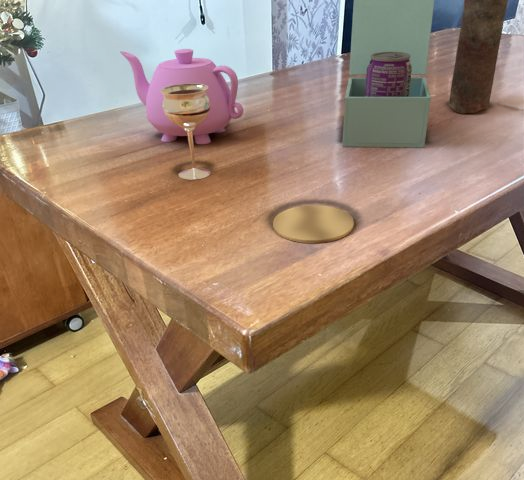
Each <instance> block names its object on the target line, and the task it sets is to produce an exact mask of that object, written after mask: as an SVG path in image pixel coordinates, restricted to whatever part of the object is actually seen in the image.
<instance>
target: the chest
mask: <svg viewBox="0 0 524 480" xmlns="http://www.w3.org/2000/svg"><path fill="white" fill-rule="evenodd" d="M365 87H366V76H364V77H362V76H361V77H348V82H347V87H346V91H345V96H344V106H343V107H344V109H343V110H344V111H343V128H342V129H343V130H342V147H353V148H355V147H357V148H414V149H415V148H419V149H420V148H423V149H424V148H425V144H426V139H427V138H426V136H427V130H428V124H429V123H428V122H429V115H430V109H431V108H430V107H431V101H432V95H431V92H430V89H429V84H428V81H427V78H426V76H411V81H410V90H409V97H365Z"/></svg>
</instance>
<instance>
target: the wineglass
mask: <svg viewBox="0 0 524 480" xmlns="http://www.w3.org/2000/svg"><path fill="white" fill-rule="evenodd" d="M207 89H208V86H207V85H204V84H197V83H186V84H176V85H171V86H167V87H164V88H163V89H161V93H162V94H163V96H164V100H163V110H164V113H165V115H166V117H167V118H168V119H169V120H170V121H171V122H173V123H174V124H175V125H177V126H179V127H182V128H184V130H185V131H187V135H188V136H187V141H188V146H189V153H190V158H191V166H192V167H190V168H187V169H184V170H182V171H180V172H179V173H178V177H179V178H181V179H183V180H188V181H189V180H190V181H191V180H192V181H193V180H200V179H204V178H207V177H209V176H210V175H211V174H212V171H211V170H210V169H208V168H204V167H196V159H195V146H194V136H193V132H192V131H194V129H195V127H196V126H198V125H199V124H201V123H202V122H203V121H204V120H205V118H206V117H207V116H208V114H209V111H210V100H209V97H208V96H207V94H206V92H207Z"/></svg>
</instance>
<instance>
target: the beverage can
mask: <svg viewBox="0 0 524 480" xmlns="http://www.w3.org/2000/svg"><path fill="white" fill-rule="evenodd" d="M409 59H410V54H408V53H403V52H380V53H375V54H372V55H371V61H370V63H369V65H368V67H367V73H366V75H365V77H366V87H365V97H409V90H410V81H411V77H412V75H411V73H412V66H411V63H410V60H409Z"/></svg>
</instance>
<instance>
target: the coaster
mask: <svg viewBox="0 0 524 480" xmlns="http://www.w3.org/2000/svg"><path fill="white" fill-rule="evenodd" d="M354 227H355V221H354V218H353V216H352V215H350V214H349V213H348V212H346V211H345V210H342V209H341V208H337V207H333V206H327V205H316V204H314V205H312V204H311V205H309V204H308V205H301V206H295V207H291V208H287V209H286V210H283V211H281V212H279V213H278V214H277V215H276V216H275V217H274V219H273V220H272V228H273V231H274V232H275V233H276V234H277V235H278V236H279V237H281V238H284V239H286V240H288V241H292V242H297V243H302V244H303V243H304V244H321V243H329V242H334V241H338V240H340V239H343V238H344V237H346V236H348V235H350V234H351V232H352V231H353V229H354Z"/></svg>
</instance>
